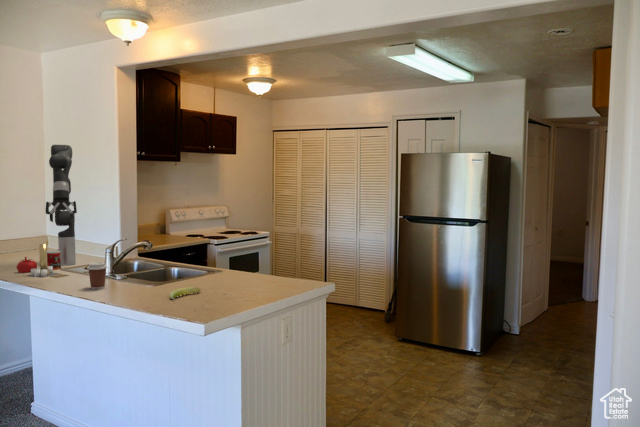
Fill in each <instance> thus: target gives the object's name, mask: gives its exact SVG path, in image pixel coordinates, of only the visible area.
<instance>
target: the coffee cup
mask: <svg viewBox="0 0 640 427" xmlns="http://www.w3.org/2000/svg"><path fill="white" fill-rule="evenodd" d="M86 269H87V270H88V275H89V284H90V285H89V286H90V289H92V290H98V289H104V288H105V287H106V272H107V270H106V269H108V266H107V264H106V263H105V262H103V261H96V262H95V261H94V262H90V263H89V265H88V266H87V267H86Z"/></svg>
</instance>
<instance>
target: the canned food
mask: <svg viewBox="0 0 640 427" xmlns="http://www.w3.org/2000/svg"><path fill="white" fill-rule="evenodd" d="M47 266H52V267H53V271H57V270H61V269H62V265H61V254H60V251H58V250H47Z"/></svg>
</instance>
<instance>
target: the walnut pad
mask: <svg viewBox="0 0 640 427" xmlns="http://www.w3.org/2000/svg"><path fill="white" fill-rule="evenodd" d="M65 277H70V274H63V273H60V274H58V275H53V276H49V278H55V279H56V278H57V279H60V278H65Z"/></svg>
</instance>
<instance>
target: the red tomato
mask: <svg viewBox="0 0 640 427" xmlns="http://www.w3.org/2000/svg"><path fill="white" fill-rule="evenodd" d="M34 268H36V269H38V263H37V262H36V261H35V260H33V259H32V258H28V257H27V256H24V259H22V260H20V261H19V262H18V263H17V265H16V270H17V272H18V273H19V274H28V273H31V269H34Z"/></svg>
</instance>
